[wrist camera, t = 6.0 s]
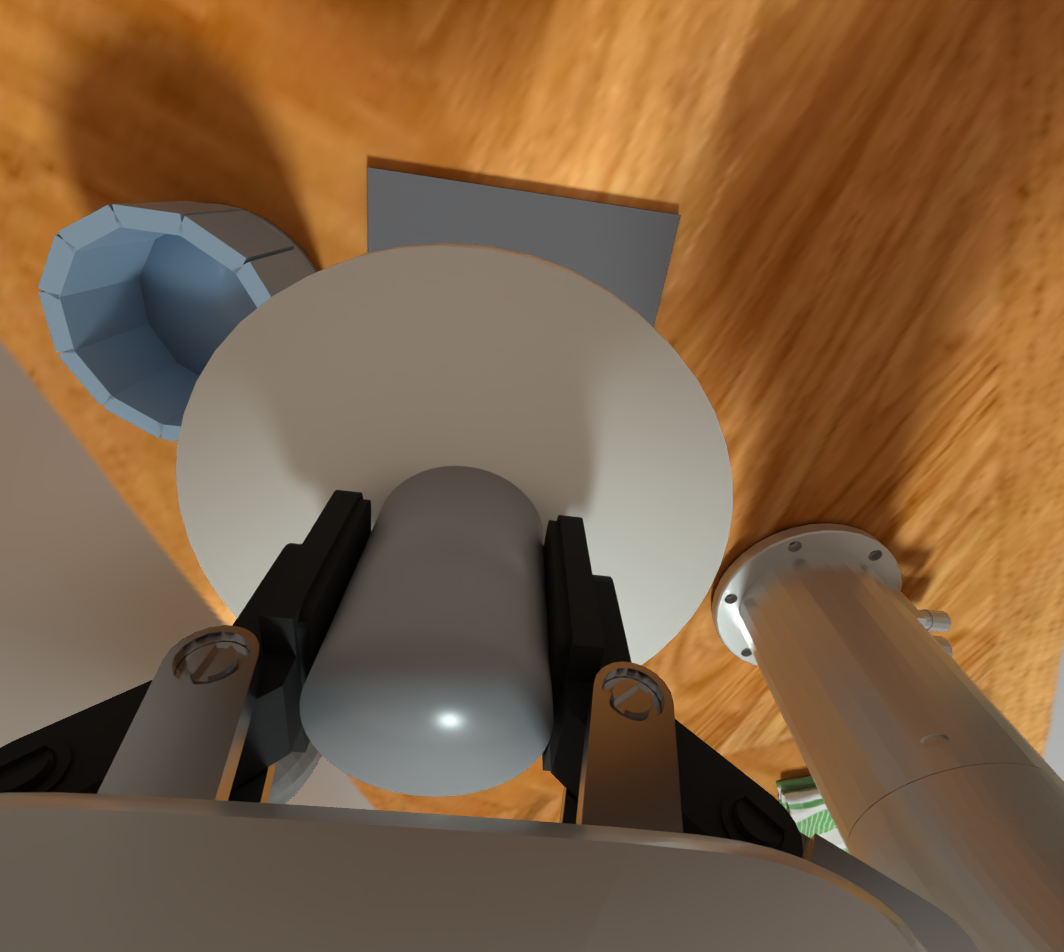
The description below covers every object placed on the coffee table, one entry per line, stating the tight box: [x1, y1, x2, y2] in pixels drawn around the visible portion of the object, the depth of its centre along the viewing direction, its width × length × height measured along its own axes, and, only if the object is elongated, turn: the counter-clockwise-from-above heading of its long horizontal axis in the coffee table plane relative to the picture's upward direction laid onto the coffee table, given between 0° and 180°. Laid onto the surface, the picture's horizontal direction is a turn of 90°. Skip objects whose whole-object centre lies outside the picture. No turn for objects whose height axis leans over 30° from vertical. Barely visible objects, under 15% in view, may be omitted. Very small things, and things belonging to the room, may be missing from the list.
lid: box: [176, 242, 733, 797], centre depth 11 cm, size 13×13×6 cm
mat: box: [367, 167, 681, 328], centre depth 29 cm, size 15×15×1 cm
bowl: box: [38, 201, 318, 441], centre depth 26 cm, size 10×10×6 cm
